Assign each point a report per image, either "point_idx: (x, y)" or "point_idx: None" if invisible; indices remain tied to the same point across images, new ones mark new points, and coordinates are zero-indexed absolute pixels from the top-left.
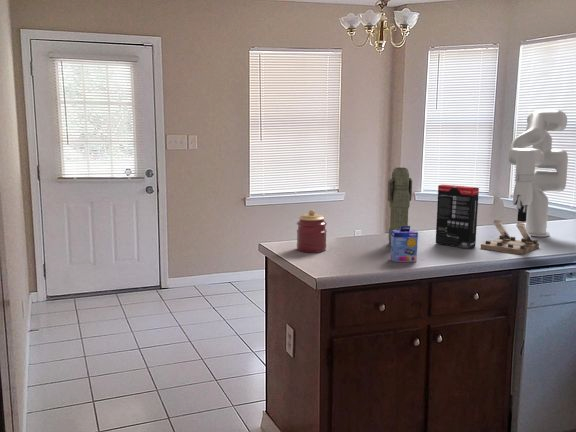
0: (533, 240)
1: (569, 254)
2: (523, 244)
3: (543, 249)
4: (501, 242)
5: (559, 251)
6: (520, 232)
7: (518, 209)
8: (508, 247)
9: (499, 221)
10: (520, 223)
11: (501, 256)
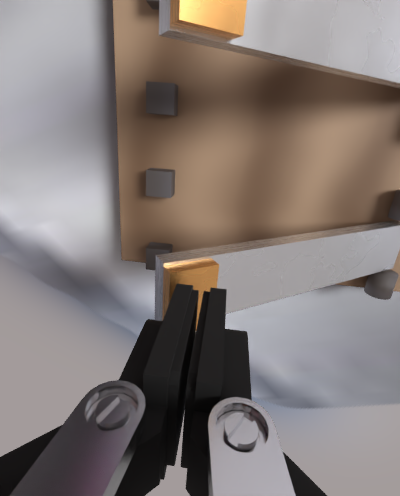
0: (378, 275)
1: (282, 404)
2: (297, 226)
3: (341, 306)
4: (284, 70)
5: (329, 369)
6: (284, 237)
7: (10, 455)
8: (138, 175)
9: (171, 2)
10: (166, 305)
11: (19, 176)
